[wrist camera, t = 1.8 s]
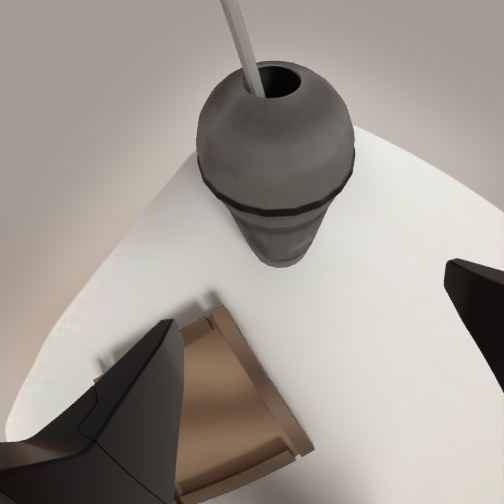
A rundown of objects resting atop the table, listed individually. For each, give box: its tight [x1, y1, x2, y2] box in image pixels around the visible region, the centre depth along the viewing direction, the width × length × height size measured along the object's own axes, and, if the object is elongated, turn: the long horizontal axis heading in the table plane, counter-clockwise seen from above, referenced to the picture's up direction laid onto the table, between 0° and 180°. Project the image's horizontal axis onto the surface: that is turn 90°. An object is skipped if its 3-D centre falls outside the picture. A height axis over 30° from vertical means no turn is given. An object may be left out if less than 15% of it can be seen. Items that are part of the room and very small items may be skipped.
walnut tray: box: [93, 306, 315, 504], centre depth 20 cm, size 12×12×2 cm
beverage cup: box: [196, 0, 355, 268], centre depth 15 cm, size 7×7×20 cm
